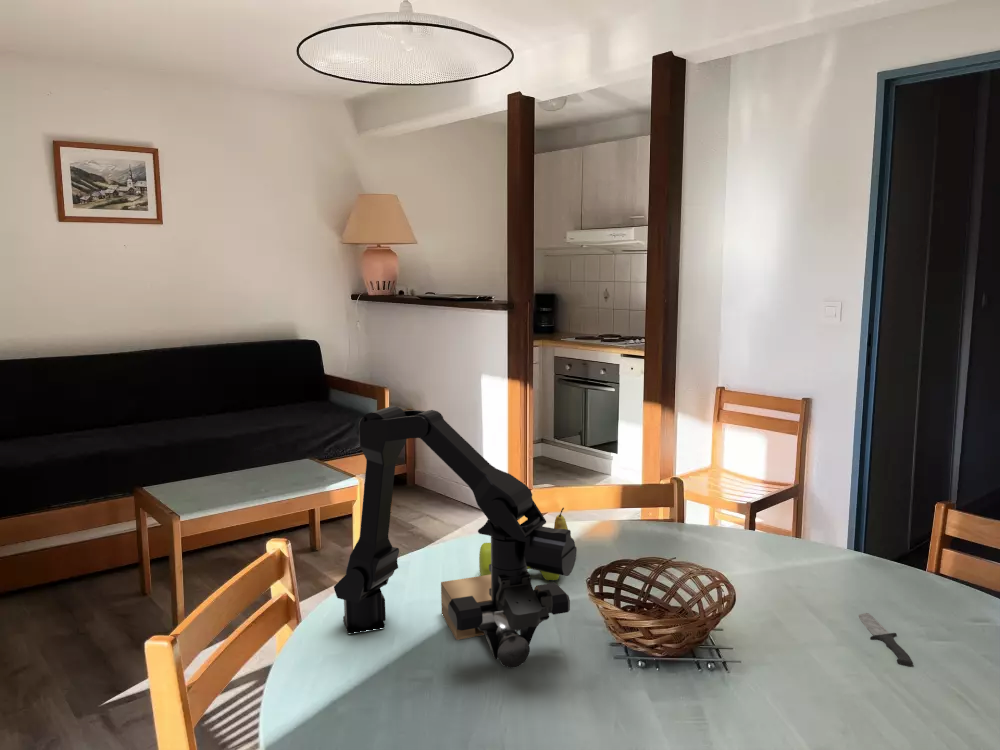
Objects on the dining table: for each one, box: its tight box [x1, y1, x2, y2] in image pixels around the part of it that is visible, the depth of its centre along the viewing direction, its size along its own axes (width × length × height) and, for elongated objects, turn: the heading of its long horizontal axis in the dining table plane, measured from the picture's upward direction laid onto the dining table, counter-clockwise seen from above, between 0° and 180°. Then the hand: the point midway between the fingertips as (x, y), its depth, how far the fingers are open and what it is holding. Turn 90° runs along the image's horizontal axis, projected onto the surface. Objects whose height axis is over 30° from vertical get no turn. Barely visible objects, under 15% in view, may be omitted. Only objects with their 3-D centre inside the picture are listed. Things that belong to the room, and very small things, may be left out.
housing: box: [440, 575, 506, 641], centre depth 136 cm, size 12×10×6 cm
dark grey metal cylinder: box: [483, 612, 531, 669], centre depth 127 cm, size 5×15×5 cm, turn 19°
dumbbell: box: [478, 542, 561, 581], centre depth 154 cm, size 16×8×7 cm, turn 92°
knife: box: [858, 612, 914, 667], centre depth 131 cm, size 22×1×5 cm
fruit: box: [553, 507, 569, 530], centre depth 164 cm, size 6×6×12 cm
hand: (509, 655), depth 122 cm, fingers closed on dark grey metal cylinder, 4 cm apart
